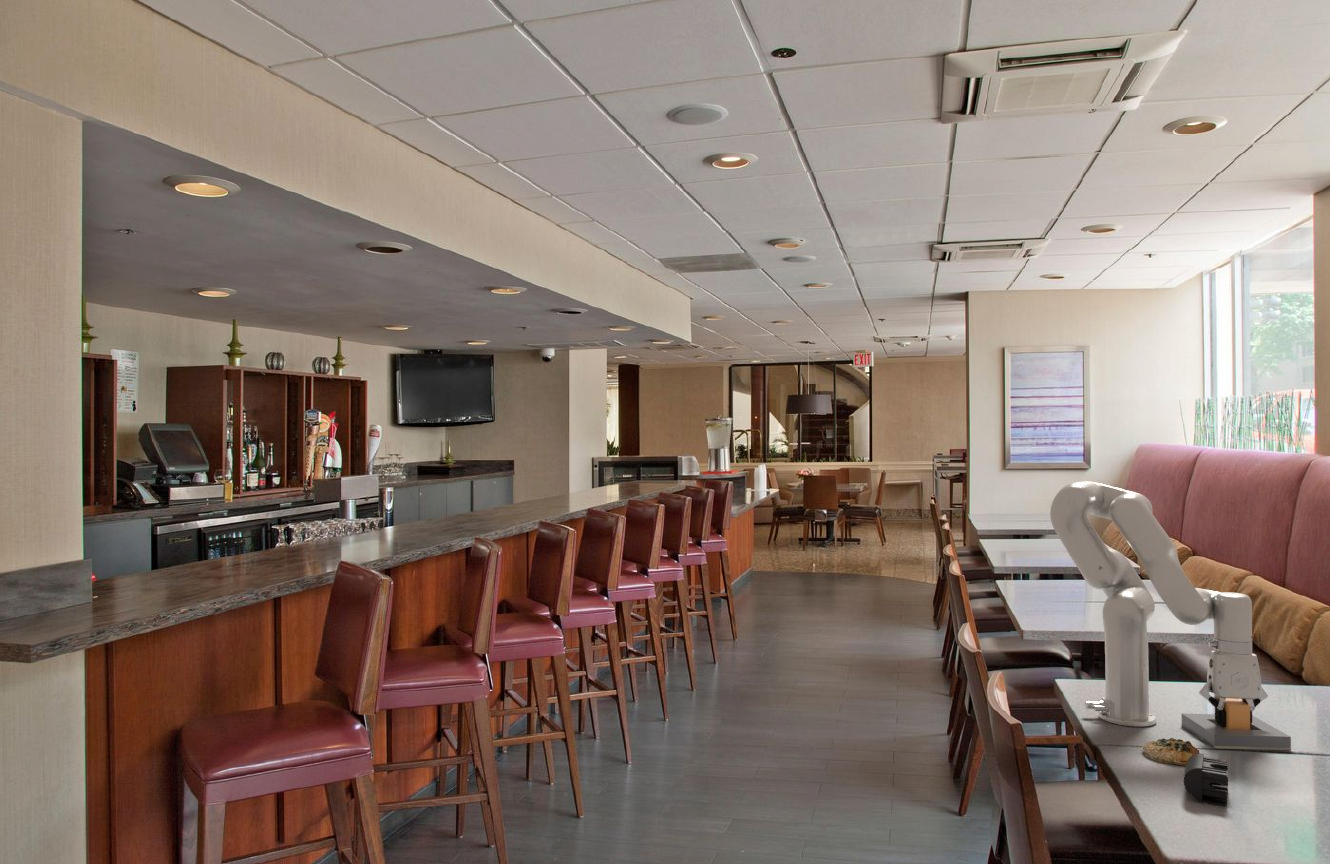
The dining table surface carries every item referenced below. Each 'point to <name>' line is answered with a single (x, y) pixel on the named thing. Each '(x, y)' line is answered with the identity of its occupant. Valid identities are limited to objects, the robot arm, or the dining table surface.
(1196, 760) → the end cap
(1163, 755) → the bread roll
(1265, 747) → the socket plate
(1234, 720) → the plug
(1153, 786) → the dining table surface
